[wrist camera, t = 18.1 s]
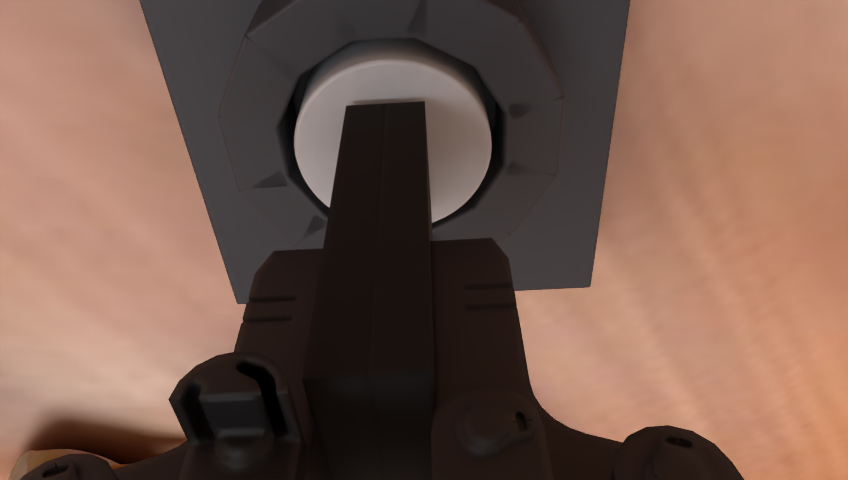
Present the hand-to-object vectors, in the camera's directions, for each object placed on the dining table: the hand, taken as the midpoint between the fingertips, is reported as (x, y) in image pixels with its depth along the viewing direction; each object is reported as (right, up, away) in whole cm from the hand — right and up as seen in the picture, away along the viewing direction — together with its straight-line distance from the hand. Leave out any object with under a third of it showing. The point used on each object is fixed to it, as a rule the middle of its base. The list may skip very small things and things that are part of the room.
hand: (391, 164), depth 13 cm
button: (0, +1, +1) cm, 2 cm away
